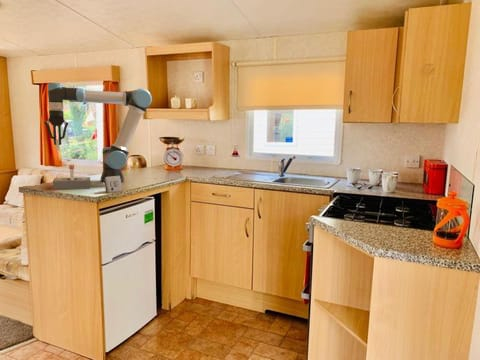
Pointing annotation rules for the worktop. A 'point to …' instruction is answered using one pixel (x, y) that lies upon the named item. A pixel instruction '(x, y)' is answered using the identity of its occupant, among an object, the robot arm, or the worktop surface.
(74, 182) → the box
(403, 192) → the worktop surface
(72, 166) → the breaker lever
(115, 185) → the electrical switch
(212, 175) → the worktop surface
